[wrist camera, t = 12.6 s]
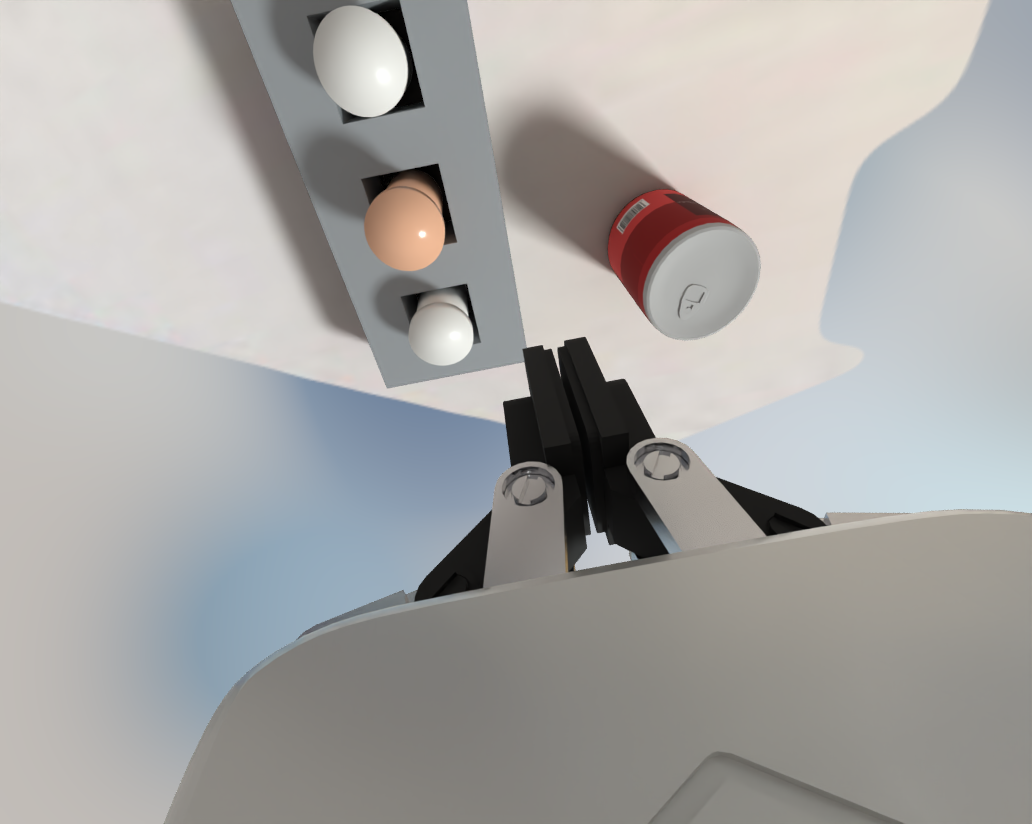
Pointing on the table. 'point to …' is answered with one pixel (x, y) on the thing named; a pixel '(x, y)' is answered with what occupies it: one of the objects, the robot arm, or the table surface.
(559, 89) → the table surface
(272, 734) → the robot arm
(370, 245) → the plug terracotta
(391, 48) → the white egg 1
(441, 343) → the grey plug
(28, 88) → the table surface
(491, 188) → the socket board
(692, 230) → the canned food
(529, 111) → the table surface
